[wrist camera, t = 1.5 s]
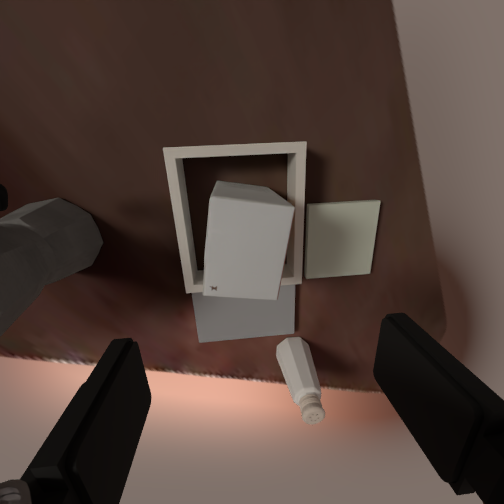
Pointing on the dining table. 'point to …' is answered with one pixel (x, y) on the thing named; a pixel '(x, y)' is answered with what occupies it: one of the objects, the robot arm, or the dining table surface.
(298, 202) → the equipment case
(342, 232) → the rubber mat
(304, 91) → the dining table surface
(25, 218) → the coffeepot
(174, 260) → the dining table surface
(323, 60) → the dining table surface
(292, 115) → the dining table surface
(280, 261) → the small box
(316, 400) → the pepper shaker
